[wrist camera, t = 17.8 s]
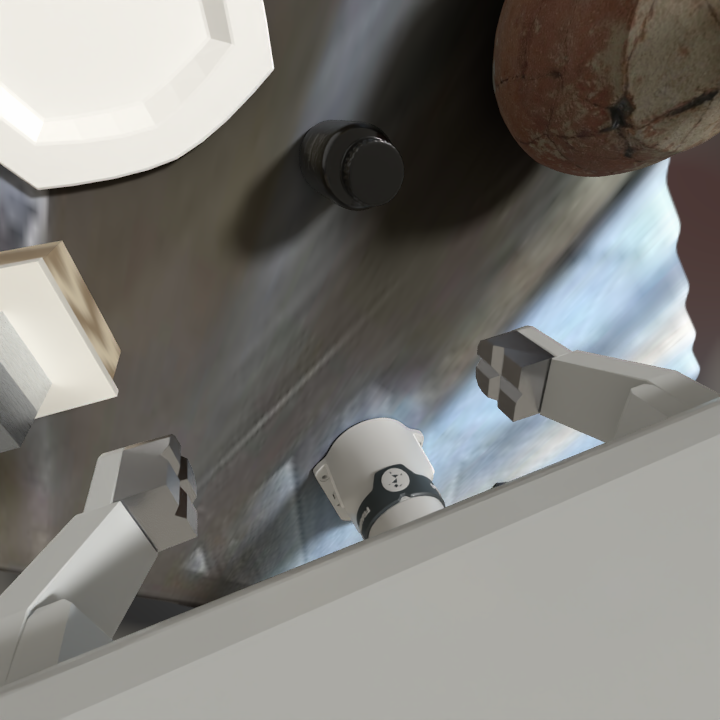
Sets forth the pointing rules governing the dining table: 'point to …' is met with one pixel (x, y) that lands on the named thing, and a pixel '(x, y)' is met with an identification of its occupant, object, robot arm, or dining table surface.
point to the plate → (121, 82)
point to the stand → (59, 325)
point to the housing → (18, 387)
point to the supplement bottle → (351, 164)
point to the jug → (608, 80)
